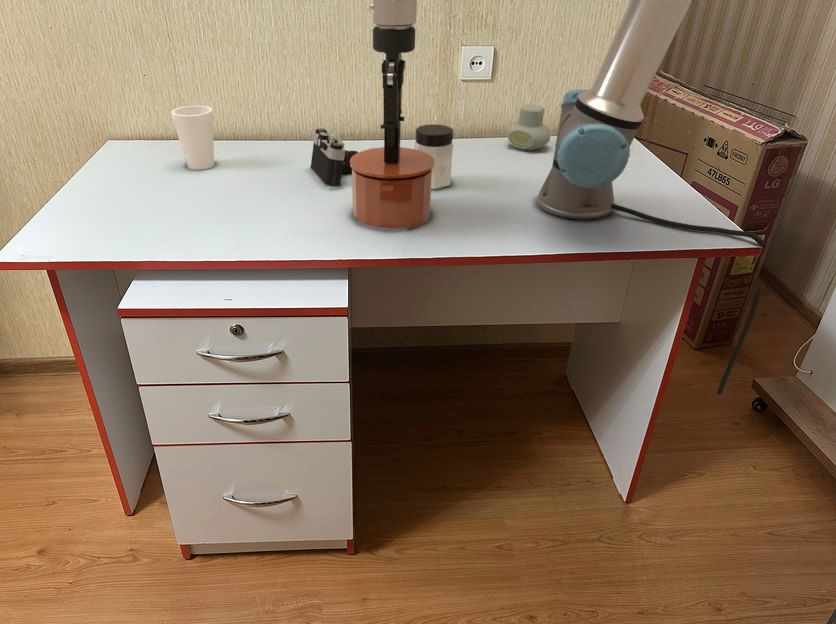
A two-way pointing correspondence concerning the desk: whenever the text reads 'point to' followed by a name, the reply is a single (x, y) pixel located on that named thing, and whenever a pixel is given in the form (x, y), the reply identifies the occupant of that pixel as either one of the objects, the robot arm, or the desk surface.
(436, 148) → the jar
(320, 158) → the camera
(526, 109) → the air freshener
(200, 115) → the foam cup
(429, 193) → the pot
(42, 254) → the desk surface
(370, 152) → the lid
